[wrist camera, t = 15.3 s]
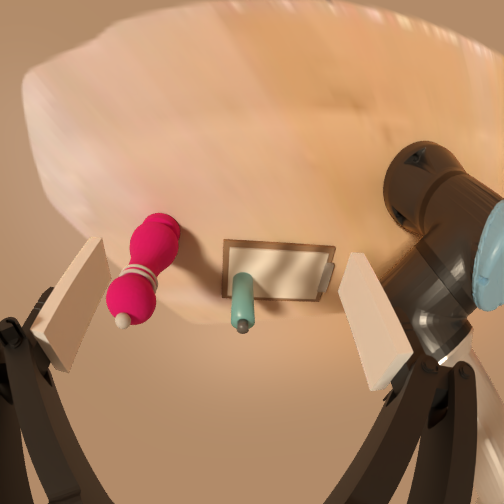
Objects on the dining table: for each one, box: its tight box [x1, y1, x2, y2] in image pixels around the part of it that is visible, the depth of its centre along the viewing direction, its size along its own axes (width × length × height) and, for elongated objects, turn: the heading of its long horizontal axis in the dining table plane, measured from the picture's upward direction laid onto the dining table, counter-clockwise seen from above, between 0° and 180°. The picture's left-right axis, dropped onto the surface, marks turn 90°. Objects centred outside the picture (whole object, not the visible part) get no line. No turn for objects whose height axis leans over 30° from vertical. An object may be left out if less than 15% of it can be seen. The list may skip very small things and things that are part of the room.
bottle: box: [231, 272, 255, 334], centre depth 44 cm, size 3×3×11 cm
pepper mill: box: [106, 213, 180, 329], centre depth 35 cm, size 7×7×20 cm
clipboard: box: [222, 239, 335, 302], centre depth 48 cm, size 18×12×1 cm, turn 85°
